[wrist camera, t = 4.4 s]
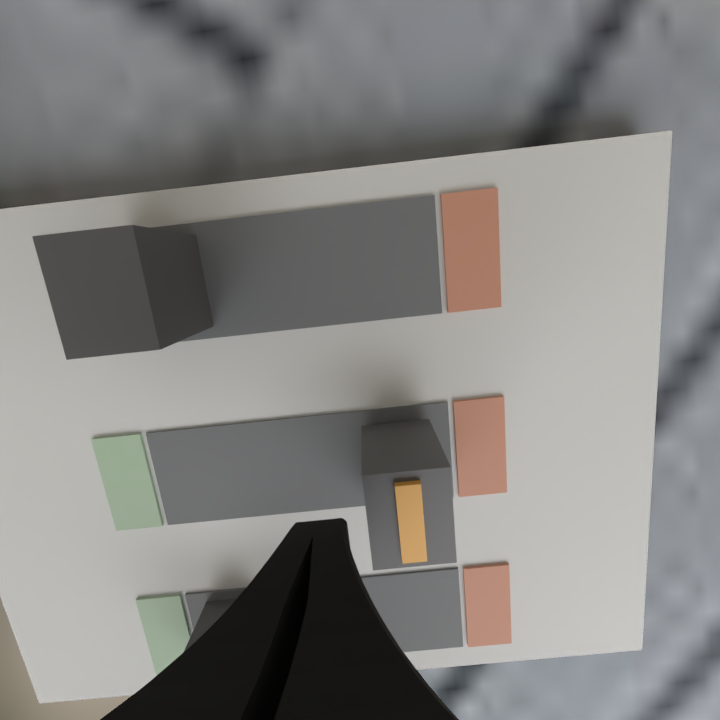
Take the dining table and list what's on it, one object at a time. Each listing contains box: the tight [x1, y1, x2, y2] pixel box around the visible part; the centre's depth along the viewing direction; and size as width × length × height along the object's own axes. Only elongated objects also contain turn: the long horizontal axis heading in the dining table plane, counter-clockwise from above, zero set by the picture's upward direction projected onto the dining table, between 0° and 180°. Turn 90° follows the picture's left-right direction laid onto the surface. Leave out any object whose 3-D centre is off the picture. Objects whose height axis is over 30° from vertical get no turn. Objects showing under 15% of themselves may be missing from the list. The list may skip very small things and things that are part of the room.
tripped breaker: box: [361, 419, 457, 571], centre depth 13 cm, size 3×2×4 cm
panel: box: [0, 131, 672, 703], centre depth 14 cm, size 20×26×6 cm
